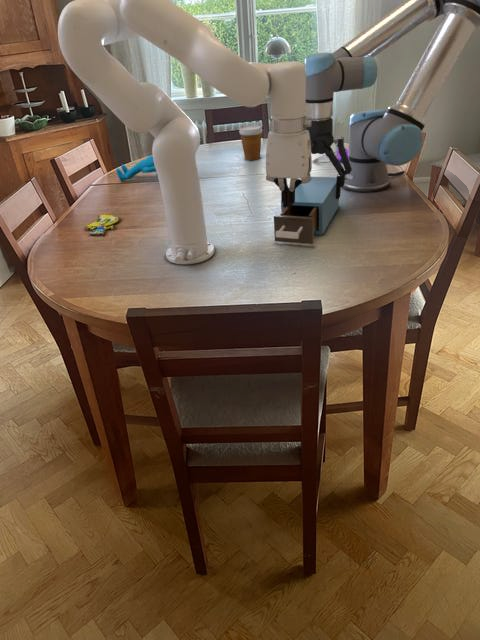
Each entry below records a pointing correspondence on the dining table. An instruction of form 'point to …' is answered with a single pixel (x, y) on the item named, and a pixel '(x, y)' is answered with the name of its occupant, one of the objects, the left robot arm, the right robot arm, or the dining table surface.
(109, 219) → the toy
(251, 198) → the dining table surface
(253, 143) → the disposable coffee cup
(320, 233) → the blue drawer cabinet
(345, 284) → the dining table surface
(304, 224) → the drawer
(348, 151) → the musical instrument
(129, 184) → the dining table surface
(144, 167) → the toy
